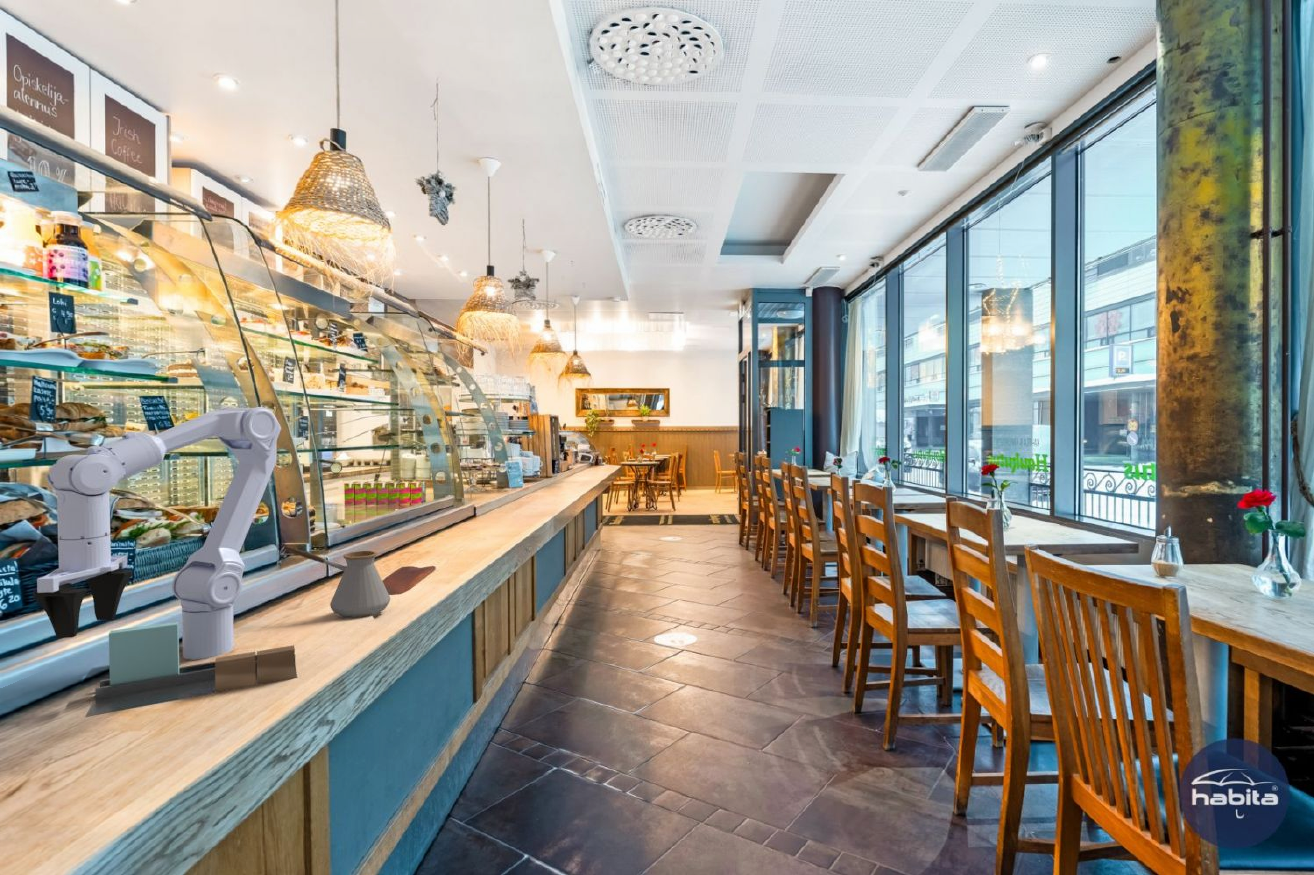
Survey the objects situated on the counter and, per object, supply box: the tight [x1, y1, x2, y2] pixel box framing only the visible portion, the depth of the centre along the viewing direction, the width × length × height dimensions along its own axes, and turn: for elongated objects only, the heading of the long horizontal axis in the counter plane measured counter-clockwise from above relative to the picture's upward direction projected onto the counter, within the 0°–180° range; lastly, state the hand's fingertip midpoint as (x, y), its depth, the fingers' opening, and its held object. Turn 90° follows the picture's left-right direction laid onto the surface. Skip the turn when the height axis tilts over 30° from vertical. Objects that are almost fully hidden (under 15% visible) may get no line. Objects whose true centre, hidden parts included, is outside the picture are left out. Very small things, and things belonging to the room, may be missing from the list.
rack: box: [85, 654, 298, 718], centre depth 97 cm, size 11×25×2 cm, turn 122°
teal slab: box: [108, 621, 180, 685], centre depth 95 cm, size 2×8×9 cm, turn 122°
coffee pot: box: [279, 545, 391, 620], centre depth 133 cm, size 21×12×15 cm, turn 97°
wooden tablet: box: [382, 565, 437, 596], centre depth 161 cm, size 27×10×2 cm, turn 2°
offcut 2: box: [256, 644, 296, 686], centre depth 99 cm, size 2×5×4 cm, turn 122°
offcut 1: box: [214, 651, 257, 693], centre depth 96 cm, size 2×5×4 cm, turn 122°
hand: (87, 627), depth 94 cm, fingers open, 7 cm apart
